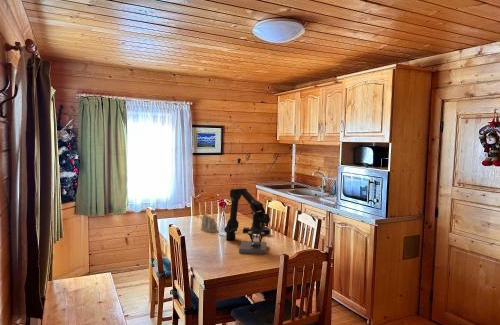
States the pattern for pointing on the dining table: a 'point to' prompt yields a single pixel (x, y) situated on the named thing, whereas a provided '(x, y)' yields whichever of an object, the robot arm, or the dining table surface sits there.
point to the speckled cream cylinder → (256, 240)
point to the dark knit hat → (261, 226)
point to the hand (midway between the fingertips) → (256, 243)
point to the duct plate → (252, 248)
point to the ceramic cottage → (208, 224)
